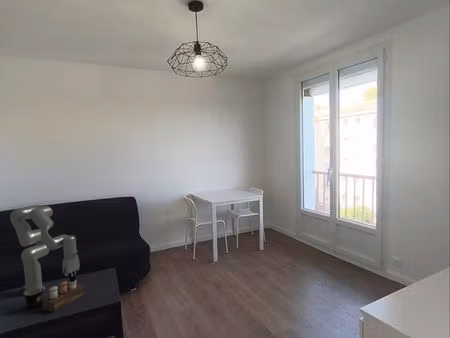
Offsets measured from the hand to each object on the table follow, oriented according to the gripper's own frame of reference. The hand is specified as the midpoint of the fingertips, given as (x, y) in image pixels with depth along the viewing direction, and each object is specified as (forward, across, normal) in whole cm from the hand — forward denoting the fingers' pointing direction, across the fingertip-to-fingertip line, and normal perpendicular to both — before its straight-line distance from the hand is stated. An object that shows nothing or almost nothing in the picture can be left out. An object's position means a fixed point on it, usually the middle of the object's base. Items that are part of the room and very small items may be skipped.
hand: (72, 281), depth 187 cm
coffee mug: (+10, +16, -13) cm, 23 cm away
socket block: (+10, +7, 0) cm, 12 cm away
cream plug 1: (+6, +14, 0) cm, 15 cm away
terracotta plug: (+6, +7, 0) cm, 9 cm away
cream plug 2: (+8, 0, 0) cm, 8 cm away
